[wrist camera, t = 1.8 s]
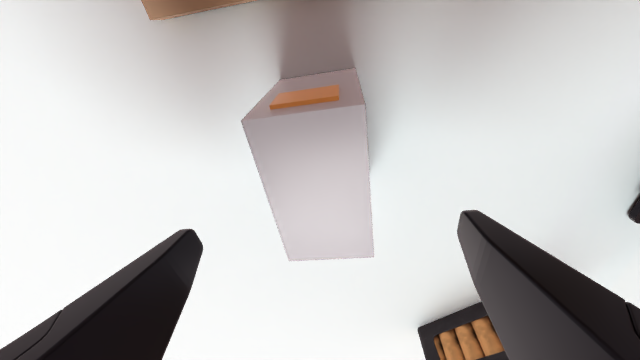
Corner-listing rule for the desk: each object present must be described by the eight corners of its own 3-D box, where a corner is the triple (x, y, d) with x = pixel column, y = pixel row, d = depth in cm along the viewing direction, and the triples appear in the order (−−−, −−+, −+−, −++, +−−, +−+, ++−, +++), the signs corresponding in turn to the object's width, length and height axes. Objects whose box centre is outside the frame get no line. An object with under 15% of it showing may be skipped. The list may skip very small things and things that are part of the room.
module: (355, 64, 13) (365, 99, 7) (363, 181, 16) (373, 257, 11) (279, 76, 13) (239, 116, 8) (304, 186, 17) (289, 261, 12)
